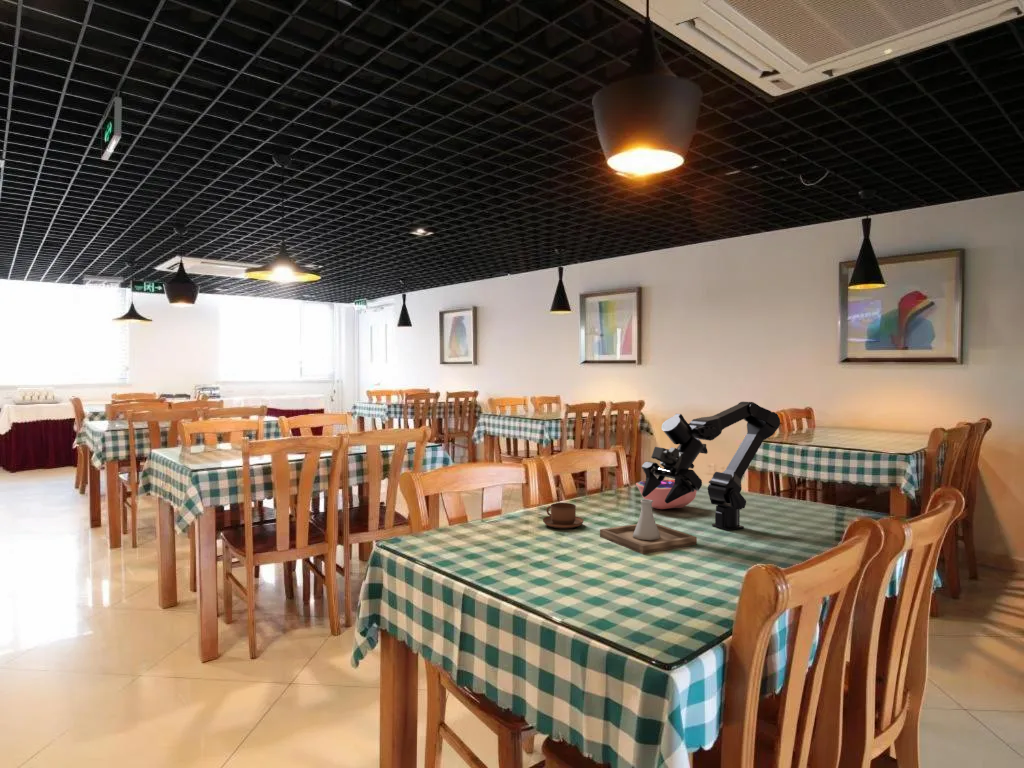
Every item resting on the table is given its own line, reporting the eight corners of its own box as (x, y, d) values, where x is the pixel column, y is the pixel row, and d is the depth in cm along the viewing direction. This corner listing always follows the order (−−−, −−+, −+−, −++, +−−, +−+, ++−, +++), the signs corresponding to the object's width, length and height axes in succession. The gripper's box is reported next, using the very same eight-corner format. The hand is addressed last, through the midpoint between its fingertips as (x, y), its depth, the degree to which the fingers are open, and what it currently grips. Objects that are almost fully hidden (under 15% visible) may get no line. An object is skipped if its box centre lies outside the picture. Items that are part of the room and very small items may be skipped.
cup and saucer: (537, 529, 175) (537, 508, 175) (550, 519, 186) (550, 499, 186) (577, 533, 170) (577, 511, 170) (588, 523, 182) (588, 503, 181)
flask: (652, 542, 157) (652, 504, 157) (627, 537, 162) (627, 500, 162) (665, 537, 163) (665, 500, 162) (641, 532, 167) (641, 496, 167)
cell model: (704, 514, 192) (704, 479, 192) (641, 514, 192) (641, 479, 192) (689, 503, 209) (689, 470, 209) (631, 503, 209) (632, 470, 209)
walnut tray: (651, 528, 174) (651, 521, 174) (696, 544, 158) (696, 536, 158) (600, 536, 166) (600, 529, 166) (642, 554, 150) (642, 546, 150)
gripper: (646, 433, 174) (615, 474, 169) (693, 439, 157) (661, 486, 152) (667, 458, 177) (638, 499, 173) (716, 467, 161) (685, 513, 156)
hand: (654, 499), depth 163 cm, fingers open, 9 cm apart
